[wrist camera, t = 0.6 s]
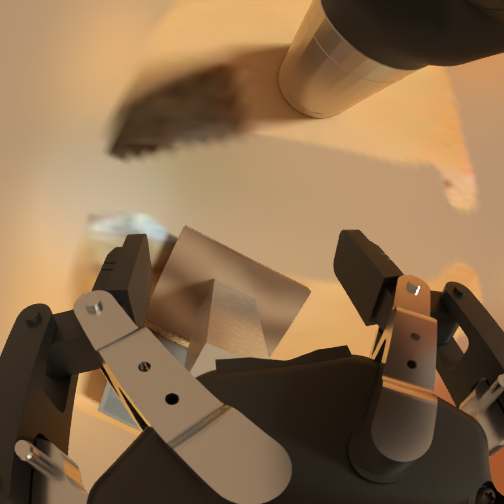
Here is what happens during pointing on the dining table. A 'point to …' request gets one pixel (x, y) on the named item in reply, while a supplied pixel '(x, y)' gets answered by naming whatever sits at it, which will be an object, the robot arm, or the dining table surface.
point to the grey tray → (113, 404)
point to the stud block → (229, 272)
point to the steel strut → (224, 329)
